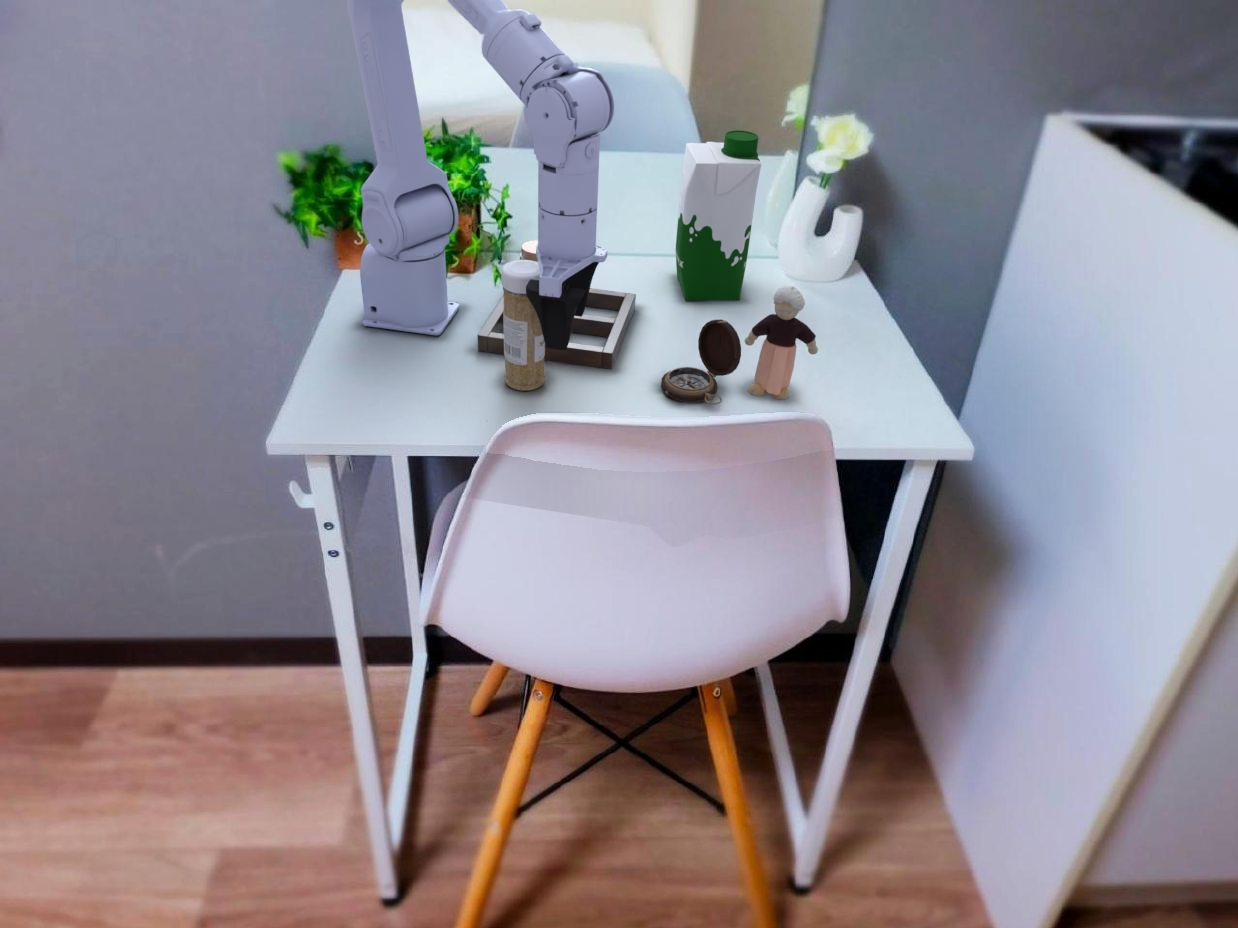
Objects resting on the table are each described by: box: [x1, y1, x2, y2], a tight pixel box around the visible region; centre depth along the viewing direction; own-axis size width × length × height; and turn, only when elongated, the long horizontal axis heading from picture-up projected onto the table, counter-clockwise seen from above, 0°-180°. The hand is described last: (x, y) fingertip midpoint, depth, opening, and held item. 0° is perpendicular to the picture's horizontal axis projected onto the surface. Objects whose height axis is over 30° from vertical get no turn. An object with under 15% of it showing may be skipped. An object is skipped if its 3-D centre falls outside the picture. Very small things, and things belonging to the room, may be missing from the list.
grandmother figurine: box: [744, 285, 819, 400], centre depth 104 cm, size 8×4×13 cm, turn 87°
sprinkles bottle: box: [500, 259, 546, 392], centre depth 103 cm, size 5×5×13 cm
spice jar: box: [519, 239, 538, 262], centre depth 119 cm, size 4×4×8 cm
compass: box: [660, 318, 742, 405], centre depth 105 cm, size 8×8×7 cm
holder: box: [477, 287, 637, 370], centre depth 117 cm, size 16×16×2 cm
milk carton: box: [675, 130, 762, 301], centre depth 123 cm, size 9×9×20 cm
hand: (565, 330), depth 103 cm, fingers open, 7 cm apart
